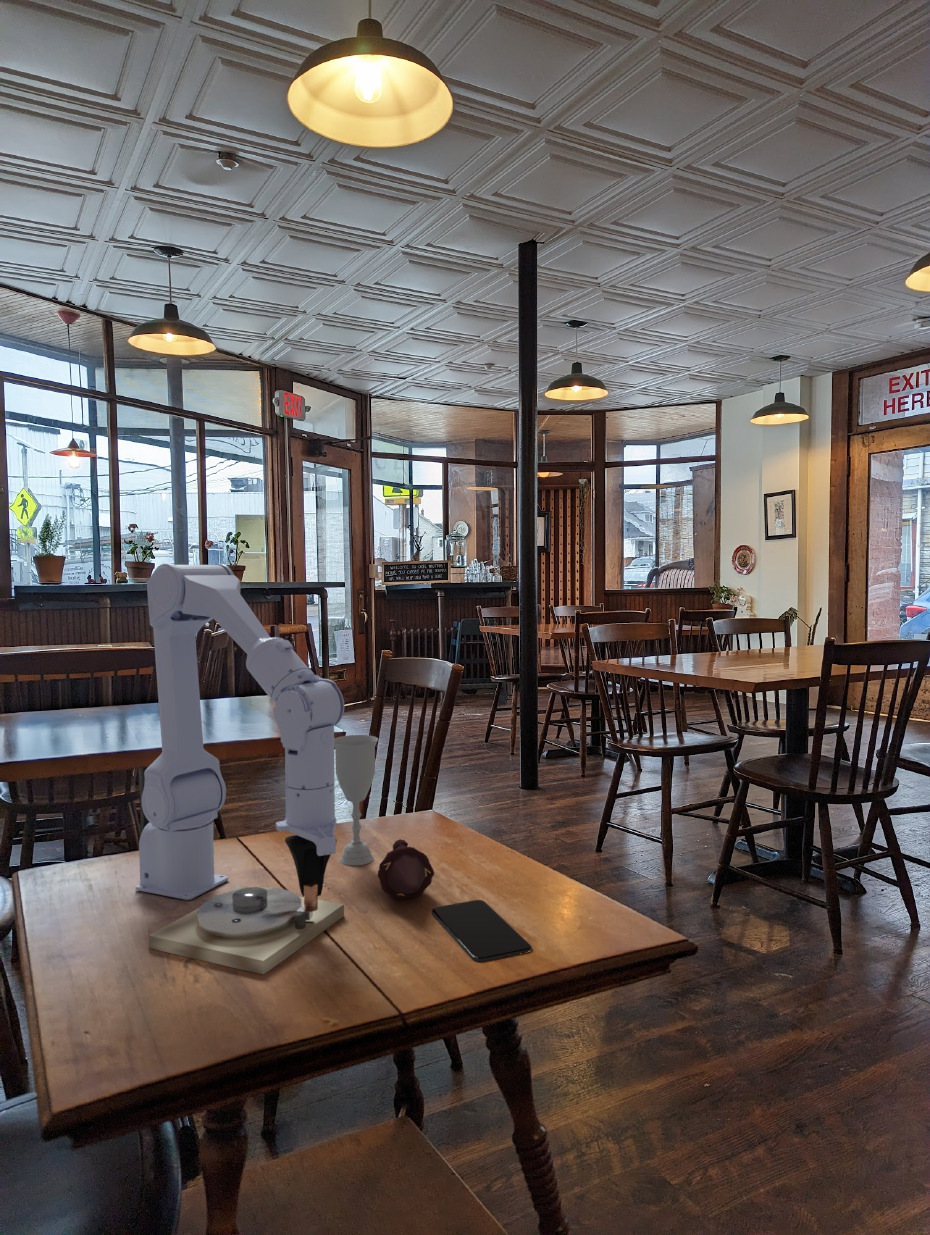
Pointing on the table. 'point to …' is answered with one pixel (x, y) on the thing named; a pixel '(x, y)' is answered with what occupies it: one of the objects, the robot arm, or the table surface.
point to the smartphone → (480, 931)
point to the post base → (244, 939)
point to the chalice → (355, 787)
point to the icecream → (405, 872)
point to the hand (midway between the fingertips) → (311, 895)
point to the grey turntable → (255, 911)
